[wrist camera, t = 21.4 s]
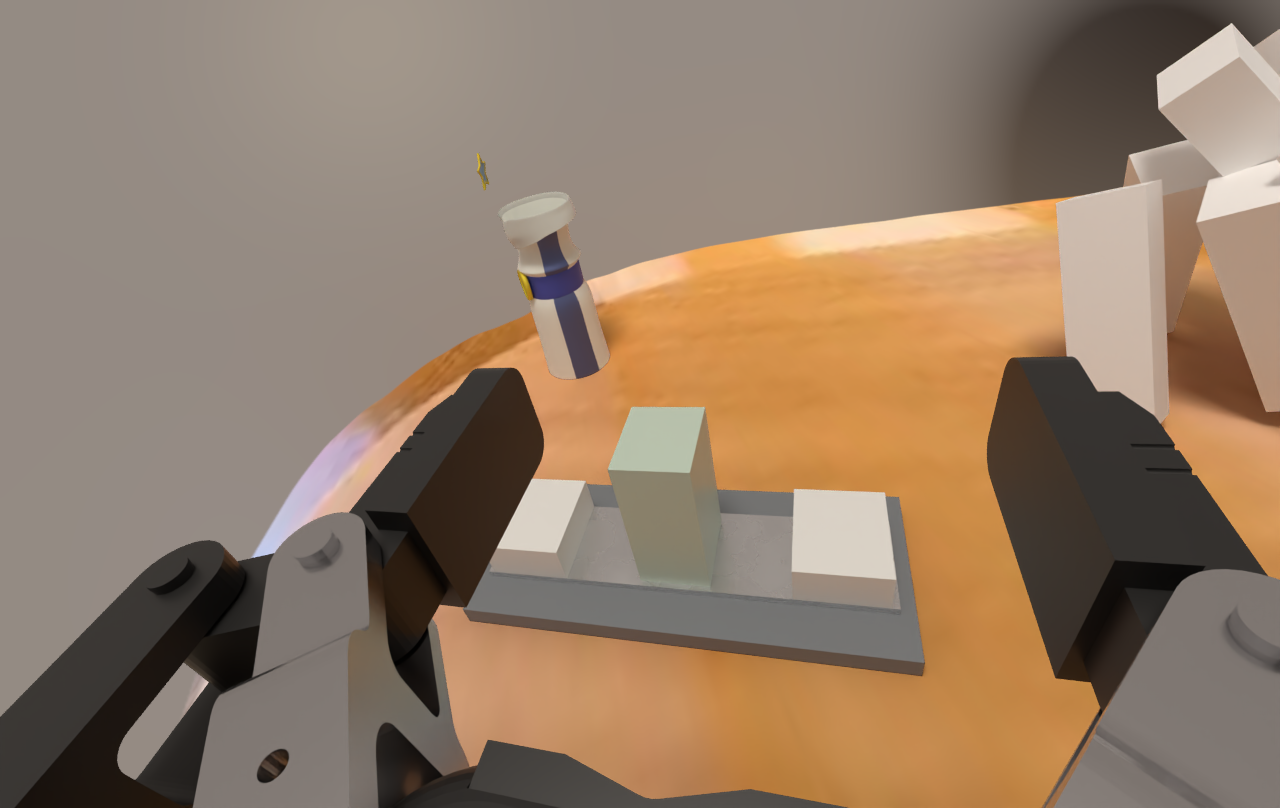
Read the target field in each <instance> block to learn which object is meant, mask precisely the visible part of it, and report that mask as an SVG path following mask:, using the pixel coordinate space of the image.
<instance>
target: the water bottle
mask: <svg viewBox="0 0 1280 808" xmlns="http://www.w3.org/2000/svg"><path fill="white" fill-rule="evenodd" d="M477 158H478V164H479V167H478V170H477V172H478V173H479V175H480V176H481V179H482V183H483V188H484V190H486V184H489V182H488V179H487V176H486V172H485V162H484V161H483V162H482V160H481V158H480V155H479V154H478V153H477ZM575 215H576V211H575V208H574V205H573V203H572V201H571V199H570V198H569V196H568V195H567V194H565V193H562V192H547V193H541V194H537V195H533V196H530V197H526V198H523V199H520V200H517V201H514V202H512V203H510V204H508V205H506V206H505V207H503V208H501V209H500V210H499V212H498V216H499V217H500V219H501V220H502V221H503V222H504V223H503V228H504V231H505V233H506V236H507V237H508V240H509V241H510V242H511V243H512V244H513V246H514V247H515V248H516V249H518V253H519V262H518V266H517V267H518V271H517V273H518V277H519V280H520V283H521V285H522V288H523V291H524V293H525V295H526V297H527V299H528V300H529V301H530V307H531V311H532V314H533V318H534V321H535V324H536V327H537V330H538V333H539V337H540V340H541V343H542V347H543V350H544V354H545V358H546V361H547V365H548V369H549V372H550V373H551V374H552V375H553V376H554V377H557V378H560V379H578V378H583V377H586V376H589V375H591V374H593V373H595V372H597V371H599V370H600V369H602V368H603V367H604V366H605V365H606V364H607V362H608V361H609V358H610V353H609V350H608V347H607V344H606V341H605V338H604V335H603V331H602V328H601V325H600V322H599V318H598V315H597V311H596V307H595V303H594V300H593V296H592V293H591V290H590V288H589V286H588V284H587V282H586V281H585V280H584V279H583V275H582V272H581V268H580V264H579V260H578V259H579V257H580V254H581V252H580V250H579V249H578V248H577V247H576V246H575V245H574V244H573V242H572V240H571V238H570V235H569V229H568V223H569V222H570V221H571V220H572V219H573V218H574V217H575Z"/></svg>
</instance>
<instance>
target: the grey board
mask: <svg viewBox="0 0 1280 808" xmlns="http://www.w3.org/2000/svg"><path fill="white" fill-rule="evenodd" d="M587 486H588V489H589V492H590V495H591V498H592V501H593V504H594V507H613V508H619V506H618V503H617V499H616V496H615V493H614V489H613V486H612V485H590V484H587ZM717 493H718V500H719V507H720V513H727V514H746V515H765V516H784V517H793V507H794V493H786V492H762V491H737V490H717ZM885 498H886V505H887V513H888V521H889V523H890V531H891V538H892V546H893V554H894V561H895V569H896V576H897V584H898V592H899V599H900V607H901V612H900V615H895V614H885V613H874V612H864V611H853V610H843V609H832V608H822V607H811V606H801V605H790V604H780V603H769V602H759V601H748V600H738V599H727V598H717V597H706V596H696V595H685V594H675V593H664V592H654V591H643V590H633V589H622V588H611V587H601V586H590V585H580V584H569V583H559V582H548V581H538V580H527V579H517V578H506V577H496V576H491V574H490V572H489V571H490V569H491V567H492V566H491V564H490V562H489V564H488V566H487V568H486V570H485V572H484V574H483V576H482V578H481V580H480V582H479V584H478V586H477V588H476V590H475V592H474V594H473V596H472V598H471V600H470V602H469V604H468V606H467V608H465V607H464V608H463V610H464V612H465V614H466V615H467V617H468V618H469V620H470V621H477V622H485V623H493V624H501V625H509V626H518V627H526V628H534V629H542V630H550V631H559V632H567V633H575V634H583V635H591V636H599V637H608V638H616V639H624V640H632V641H640V642H649V643H657V644H665V645H673V646H681V647H690V648H698V649H706V650H714V651H722V652H731V653H739V654H747V655H755V656H763V657H772V658H780V659H788V660H796V661H804V662H812V663H821V664H829V665H837V666H845V667H853V668H862V669H870V670H878V671H886V672H894V673H903V674H911V675H919V676H922V673H923V668H924V664H925V662H924V655H923V649H922V642H921V636H920V630H919V623H918V617H917V610H916V604H915V597H914V591H913V584H912V578H911V571H910V565H909V558H908V552H907V546H906V539H905V533H904V526H903V520H902V513H901V507H900V500H899V497H885Z"/></svg>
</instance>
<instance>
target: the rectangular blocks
mask: <svg viewBox="0 0 1280 808" xmlns="http://www.w3.org/2000/svg"><path fill="white" fill-rule="evenodd" d="M593 509H594V504H593V501H592V498H591V495H590V492H589V489H588V486H587V484H586V481H574V480H548V479H532V480H531V482H530V484H529V486H528V488H527V490H526V492H525V493H524V495H523V497H522V499H521V501H520V503H519V505H518V507H517V509H516V511H515V513H514V515H513V517H512V519H511V521H510V523H509V525H508V527H507V529H506V531H505V533H504V535H503V537H502V539H501V541H500V543H499V545H498V547H497V549H496V551H495V553H494V555H493V556H492V558H491V560H490V564H491V566H492V568H493V569H494V571H495V572H501V573H512V574H523V575H534V576H545V577H555V578H566V579H567V578H568V575H569V572H570V570H571V567H572V564H573V562H574V559H575V556H576V554H577V551H578V548H579V546H580V543H581V540H582V538H583V535H584V532H585V530H586V527H587V525H588V522H589V519H590V517H591V514H592V511H593ZM895 585H896V574H895V566H894V559H893V551H892V544H891V536H890V528H889V521H888V513H887V505H886V498H885V493H882V492H856V491H830V490H805V489H794V507H793V540H792V596H793V600H804V601H814V602H825V603H836V604H847V605H858V606H868V607H879V608H890V609H892V606H893V599H894V592H895Z"/></svg>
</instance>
